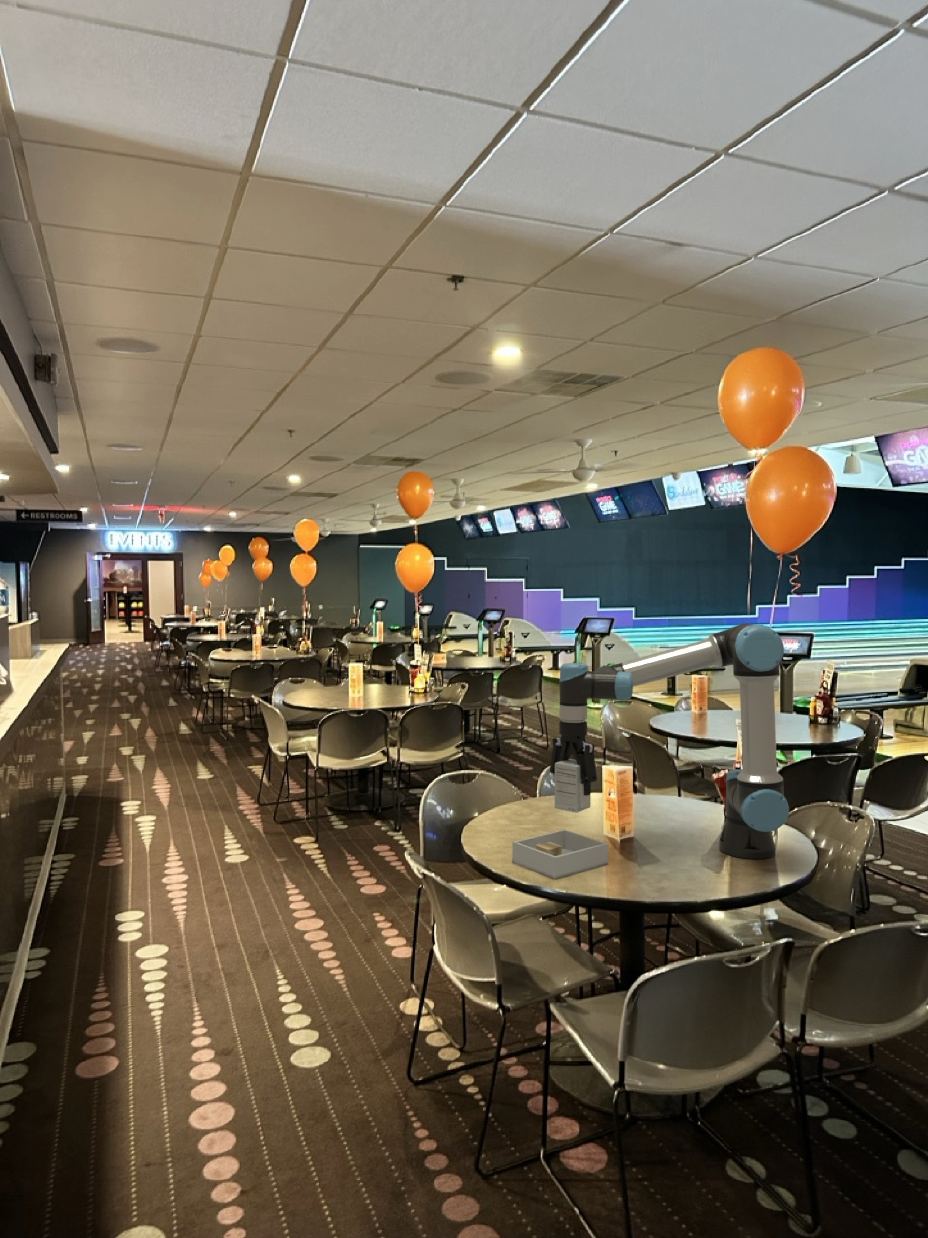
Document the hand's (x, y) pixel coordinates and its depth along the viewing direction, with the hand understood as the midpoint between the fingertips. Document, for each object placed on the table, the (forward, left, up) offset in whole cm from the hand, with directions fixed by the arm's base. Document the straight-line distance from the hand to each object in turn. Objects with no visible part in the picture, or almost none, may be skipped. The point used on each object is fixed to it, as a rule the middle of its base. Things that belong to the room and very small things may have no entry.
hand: (572, 803), depth 225 cm
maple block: (0, +9, -15) cm, 17 cm away
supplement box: (0, 0, -1) cm, 1 cm away
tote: (0, +4, -16) cm, 16 cm away
